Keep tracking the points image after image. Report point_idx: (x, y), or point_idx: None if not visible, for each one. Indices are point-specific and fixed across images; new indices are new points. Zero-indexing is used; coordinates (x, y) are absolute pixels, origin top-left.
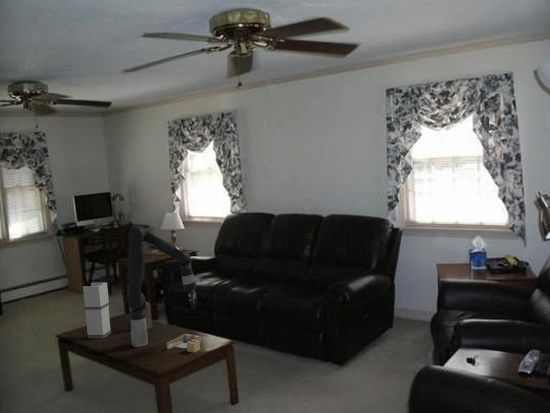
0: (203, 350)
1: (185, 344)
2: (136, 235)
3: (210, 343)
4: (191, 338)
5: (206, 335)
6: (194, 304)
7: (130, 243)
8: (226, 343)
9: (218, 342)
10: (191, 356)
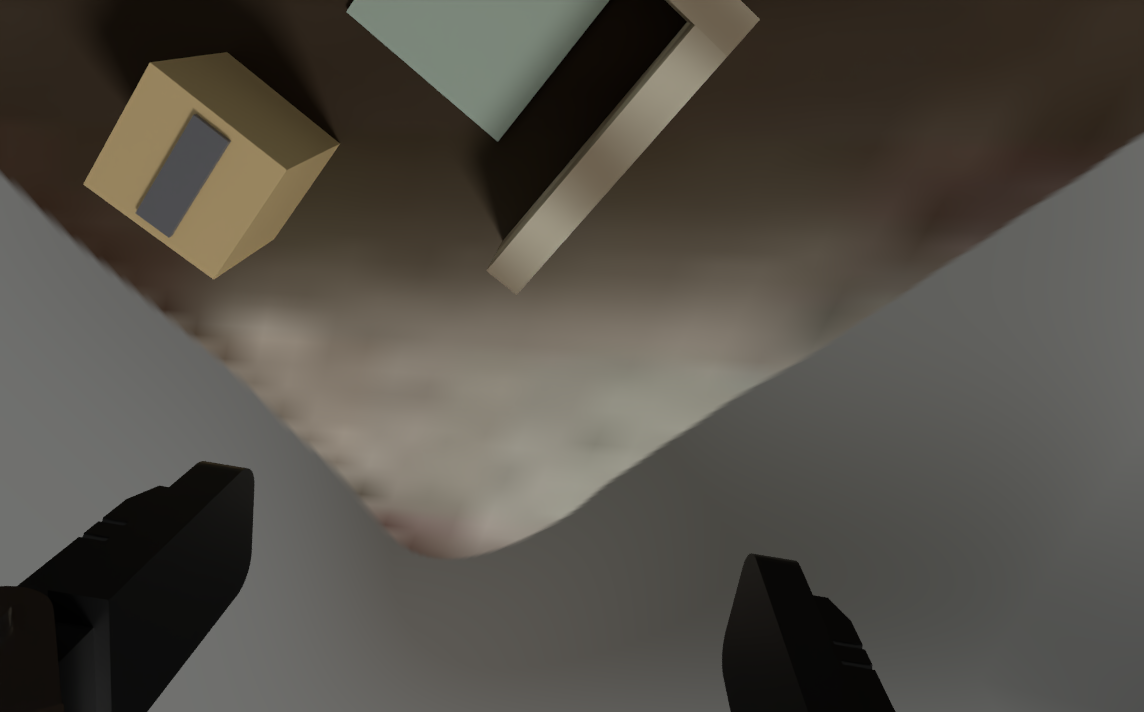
0: (226, 276)
1: (507, 24)
2: None
3: (456, 375)
4: (594, 138)
5: (796, 349)
6: (162, 690)
7: None
8: (404, 535)
9: (463, 463)
10: (31, 112)
